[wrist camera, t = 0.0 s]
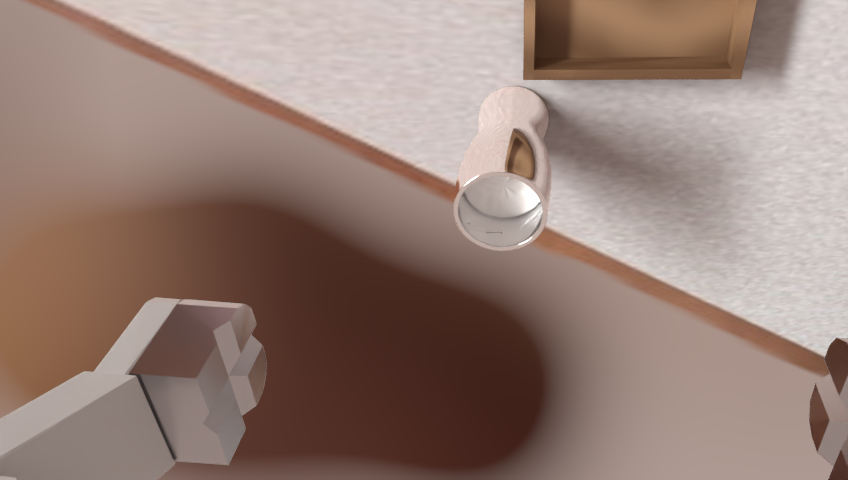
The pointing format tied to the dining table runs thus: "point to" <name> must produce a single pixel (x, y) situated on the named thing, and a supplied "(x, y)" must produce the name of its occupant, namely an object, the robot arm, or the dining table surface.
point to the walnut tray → (636, 39)
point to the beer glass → (505, 173)
